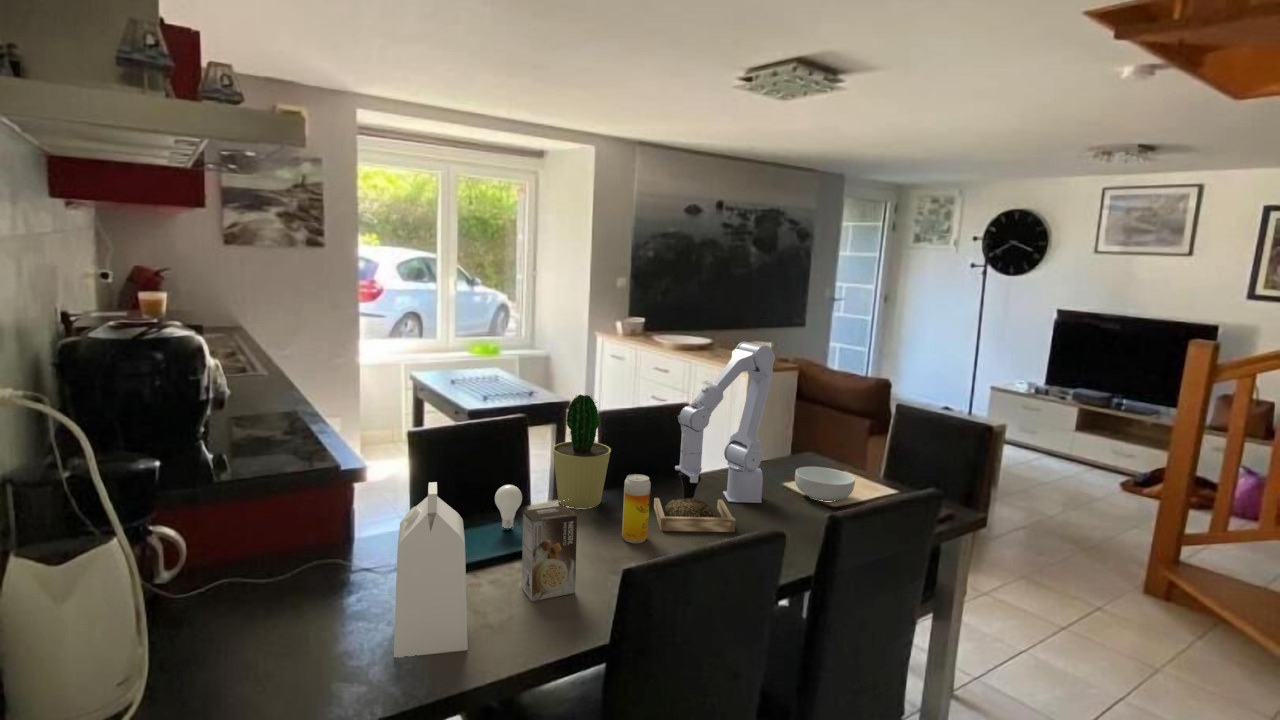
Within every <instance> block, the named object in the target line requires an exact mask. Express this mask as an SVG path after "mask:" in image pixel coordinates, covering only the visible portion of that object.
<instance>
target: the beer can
mask: <svg viewBox="0 0 1280 720" xmlns="http://www.w3.org/2000/svg"><path fill="white" fill-rule="evenodd" d="M651 484H652V482H651V481H650V477H649V476H648V475H645V474H638V473H637V474H636V473H634V474H632V473H631V474H628V475H626V478H625V480H624V484H623V485H624V487H623V503H622V504H623V505H622V506H623V508H622V525H621V526H622V527H621V537H622V538H623V539H624V541H625V542H628V543H631V544H641V543H644V542H645V541H646V539H648V536H649V519H650V517H649V516H650V502H651V500H650V499H651V487H652V486H651Z"/></svg>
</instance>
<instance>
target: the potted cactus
mask: <svg viewBox="0 0 1280 720" xmlns="http://www.w3.org/2000/svg"><path fill="white" fill-rule="evenodd" d="M572 397H573V396H572ZM572 397H571V399H572V400H570V401H569V404H568V403H567V410H565V414H564V415H565V418H564V417H563V419H564V423H565V429H567V430H570V431H569V433H570V434H569V436H570V437H569V440H570V441H564V442H560V443H557V444H555V445H553V447H552V452H553V453H552V454H553V463H554V471H555V482H556V489H557V500H558V504H559V503H561V505H560V506H562V505H565V506H569V507H574V508H589V507H593V506H597V505H598V504H600V505H601V501H602V497H603V492H604V491H603V490H604V486H605V481H606V476H607V470H608V465H609V462H610V457H611V452H612V448H611V447H610V446H607V444H603V443H600V442H597V440H596V437H599V435H597V434H598V433H599V432H598V428H601V427H602V426H601V425H602V424H600V423H601V420H602V418H601V417H599V414H602V413H603V412H599V406H597V405H596V404H597V403H598V401H596V398H593V394H591V395H588V394H583V395H582V394H575V396H574V397H573V398H572ZM568 499H569V500H568ZM563 500H565V501H563ZM559 501H561V502H559ZM597 507H598V506H597Z"/></svg>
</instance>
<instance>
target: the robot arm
mask: <svg viewBox="0 0 1280 720" xmlns="http://www.w3.org/2000/svg"><path fill="white" fill-rule="evenodd" d="M775 359H776V355H775V353H774V350H773V349H772V348H771V347H770V346H769V345H764V344H763V345H762V344H757V343H751V342H748V341H741V342H740V343H738V344H737V346H736V347H735V348H734V349H733V350H732V352H731V358H730V359H729V361H728V362H727V364H726V365H725V367H724V368H723V370H722V371H721V372H720V374H719V375H718V377H717V378H716V379H715V381H714V382H713V383H711V384H706V385H705V386H703V387H702V388H701V390H700V392H699V394H697V396H696V397H695V399H694V400H692V401H691V402H690V404H689V405H687V406H684V407H683V408H682V409H681V411H680V412H679V415H677V420H678V423H679V424H680V431H681V439H680V440H681V441H680V442H681V443H680V454H679V455H680V456H679V457H680V458H679V465H675V466H674V469H675V471H680V472H678V476H679V479H680V482H681V487H682V497H683V499H687V498H694V496H695V494H696V490H697V487H698V485H699V483H701V480H702V477H701V472H702V469H703V468H702V457H703V443H704V430H705V429H706V428H707V427H708V426H709V424H710V418H711V416H712V413H713V412H714V411H715V410H716V408H717V407H718V405H720V403H721V402H722V401H723V399H724V391H726V390H727V388H729V387H730V385H732V383H733V382H734V381H735V380H736V379H737V378H738V377H739V376H740V375H741V374H742V373H743V372H748V374H749V375H750V377H751V380H750V383H749V387H748V391H747V394H746V395H747V396H746V399H745V402H744V403H745V404H744V406H743V410H742V413H741V419H740V421H739V426H738V430H737V431H736V432H735V433H733V434H732V435H730V438H729V441H728V443H727V444H726V445H725V447H724V450H723V455H724V459H725V460H726V461H727V466H728V470H727V471H728V473H727V486H726V490H723V491H722V493H723V496H724V497H725V498H726V500H727V502H729V503H749V504H750V503H753V504H755V503H757V504H758V503H759V504H762V502H763V501H762V494H763V483H764V481H763V480H764V479H763V478H764V476H763V475H764V474H763V471H762V469H761V467H759V466H760V464H761V463H762V462H761V461H762V448H763V445H762V443H761V441H760V439H759V437H758V435H759V430H760V427H761V423H762V419H763V415H764V412H765V407H766V404H767V401H768V397H769V396H768V395H769V392H770V388H771V384H772V381H773V374H774V373H773V372H774V369H773V368H774V363H775Z"/></svg>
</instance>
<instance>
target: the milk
mask: <svg viewBox="0 0 1280 720" xmlns="http://www.w3.org/2000/svg"><path fill="white" fill-rule="evenodd" d="M427 486H428V487H427V496H426V497H425V498H424V499H423V500H421V501H420V502H419V503H418V504H417V505H416V506H413V507H412V508H410V509H409V511H408V512H407V513H406V515H405V516H404V517H403V519H402V520H401V521H400V522H399V530H398V536H397V537H398V540H397V553H396V580H395V581H396V582H395V583H396V585H395V605H394V607H395V608H394V609H395V611H394V633H393V634H394V636H393V638H394V639H393V658H394V657H396V658H397V657H398V658H405V657H404V656H408V657H413V656H414V657H415V655H417V656H424V655H433V654H442V653H443V654H444V653H452V652H462V651H468V646H469V645H468V616H467V615H468V613H467V610H468V609H467V607H468V606H467V573H466V571H467V569H466V539H465V538H466V537H465V529H464V527H465V526H464V520H463V518H462V517H461V515H460V514H459V512H457V511H456V510H455V509H453V507H451V506H450V505H449V504H447V503H446V502H445V501H444V500H443V499H441V498H440V497H439V496H438V482H437V481H434V482H433V481H432V482H430V481H429V482H428V485H427ZM396 658H395V659H396Z"/></svg>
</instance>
